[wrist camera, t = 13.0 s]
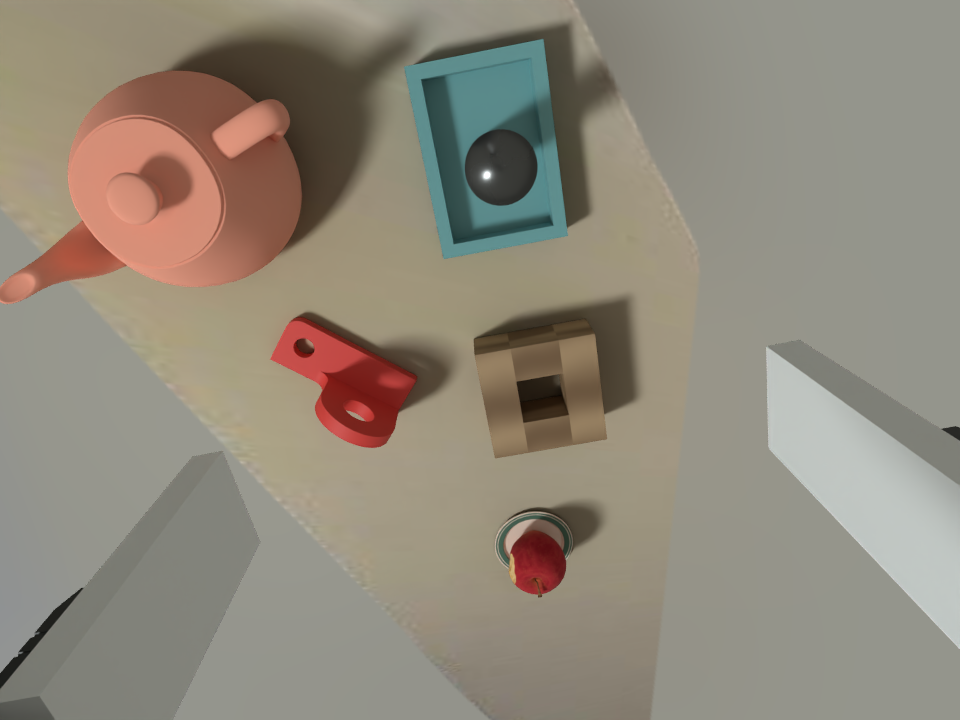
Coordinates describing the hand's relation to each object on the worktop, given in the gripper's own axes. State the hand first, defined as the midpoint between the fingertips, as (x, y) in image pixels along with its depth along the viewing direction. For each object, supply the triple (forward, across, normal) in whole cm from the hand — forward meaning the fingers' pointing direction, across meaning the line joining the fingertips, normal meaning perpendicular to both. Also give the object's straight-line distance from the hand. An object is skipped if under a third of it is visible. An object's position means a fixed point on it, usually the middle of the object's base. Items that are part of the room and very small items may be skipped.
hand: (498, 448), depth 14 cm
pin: (+36, +2, +5) cm, 37 cm away
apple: (+38, 0, -33) cm, 50 cm away
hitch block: (+37, +3, -15) cm, 40 cm away
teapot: (+37, -20, +7) cm, 43 cm away
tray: (+37, +2, +5) cm, 37 cm away
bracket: (+37, -14, -10) cm, 41 cm away
